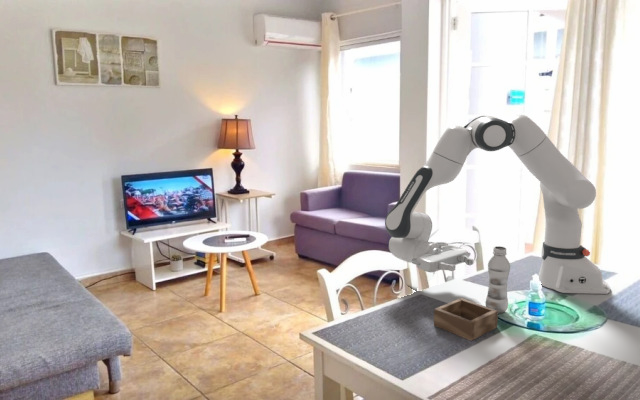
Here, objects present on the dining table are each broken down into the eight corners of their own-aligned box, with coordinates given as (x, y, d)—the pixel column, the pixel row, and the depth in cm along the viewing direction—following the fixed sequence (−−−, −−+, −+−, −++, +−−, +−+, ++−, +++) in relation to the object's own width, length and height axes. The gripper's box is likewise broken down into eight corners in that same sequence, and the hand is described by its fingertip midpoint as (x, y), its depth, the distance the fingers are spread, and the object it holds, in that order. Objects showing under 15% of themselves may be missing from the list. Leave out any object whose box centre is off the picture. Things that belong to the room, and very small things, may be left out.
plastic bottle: (504, 307, 155) (508, 245, 151) (510, 316, 148) (514, 251, 144) (482, 306, 155) (486, 244, 151) (487, 315, 149) (491, 251, 145)
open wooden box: (460, 313, 150) (460, 298, 149) (497, 327, 141) (498, 310, 140) (433, 325, 143) (434, 308, 142) (471, 340, 133) (471, 323, 132)
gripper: (408, 251, 162) (443, 262, 152) (447, 241, 175) (482, 250, 164) (407, 270, 164) (442, 282, 153) (446, 258, 176) (481, 268, 166)
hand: (463, 265), depth 159 cm, fingers open, 8 cm apart
